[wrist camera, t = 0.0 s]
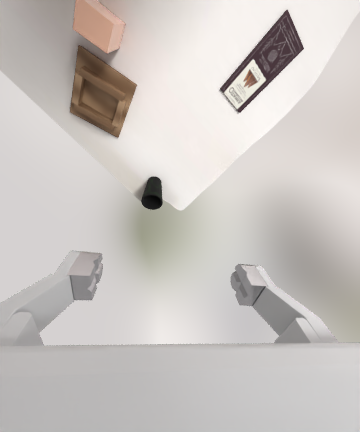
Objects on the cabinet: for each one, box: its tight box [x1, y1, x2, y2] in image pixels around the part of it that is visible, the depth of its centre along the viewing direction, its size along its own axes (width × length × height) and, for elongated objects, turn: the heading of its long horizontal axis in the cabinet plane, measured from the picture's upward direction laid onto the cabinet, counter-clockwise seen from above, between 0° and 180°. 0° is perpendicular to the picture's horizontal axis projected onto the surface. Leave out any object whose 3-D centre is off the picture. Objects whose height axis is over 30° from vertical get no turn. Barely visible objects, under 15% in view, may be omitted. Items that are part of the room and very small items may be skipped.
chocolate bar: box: [220, 10, 304, 112], centre depth 43 cm, size 9×1×18 cm
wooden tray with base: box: [70, 45, 137, 137], centre depth 46 cm, size 16×14×4 cm
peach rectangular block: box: [73, 0, 125, 54], centre depth 34 cm, size 4×6×11 cm
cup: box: [141, 177, 162, 210], centre depth 65 cm, size 8×8×12 cm
